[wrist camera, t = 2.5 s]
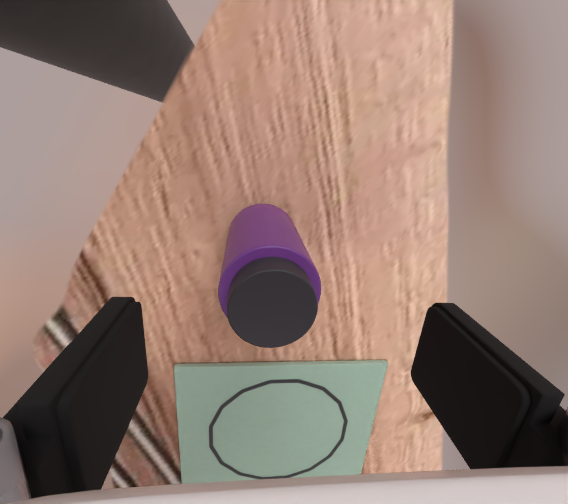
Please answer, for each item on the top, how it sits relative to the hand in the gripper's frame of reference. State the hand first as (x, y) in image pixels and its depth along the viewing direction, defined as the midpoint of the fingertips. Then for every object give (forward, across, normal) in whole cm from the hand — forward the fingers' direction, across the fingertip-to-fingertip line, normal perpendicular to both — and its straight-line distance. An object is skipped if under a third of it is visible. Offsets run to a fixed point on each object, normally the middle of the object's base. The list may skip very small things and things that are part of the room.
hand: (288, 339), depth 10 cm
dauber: (+10, +1, -1) cm, 10 cm away
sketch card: (+10, -2, +22) cm, 24 cm away
